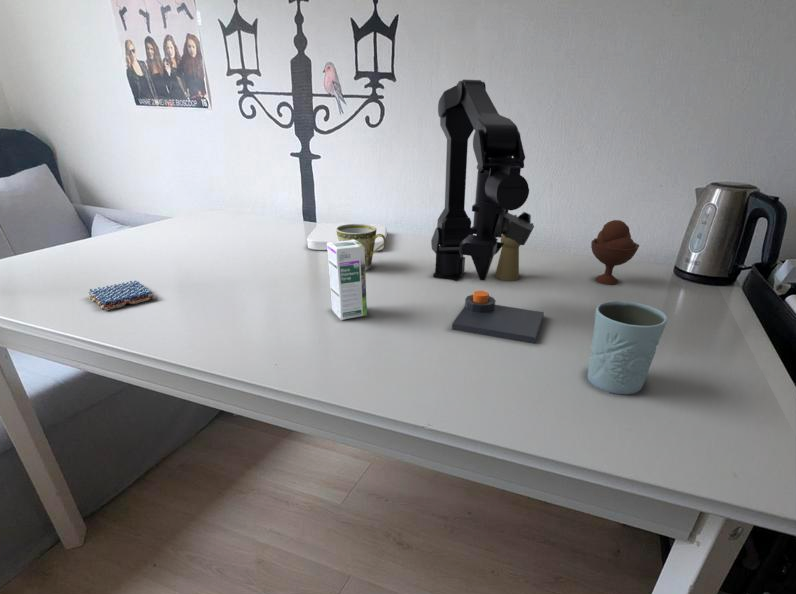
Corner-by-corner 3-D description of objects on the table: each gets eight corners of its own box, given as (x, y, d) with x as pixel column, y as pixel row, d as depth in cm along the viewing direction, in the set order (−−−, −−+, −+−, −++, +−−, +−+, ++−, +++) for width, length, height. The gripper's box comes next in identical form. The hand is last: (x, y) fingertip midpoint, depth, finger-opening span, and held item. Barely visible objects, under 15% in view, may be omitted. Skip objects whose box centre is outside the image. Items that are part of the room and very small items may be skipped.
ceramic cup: (331, 270, 124) (328, 230, 119) (350, 259, 132) (348, 222, 127) (377, 277, 120) (376, 236, 115) (393, 266, 128) (393, 227, 123)
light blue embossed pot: (639, 404, 74) (661, 332, 67) (573, 384, 78) (588, 315, 72) (650, 376, 81) (672, 309, 75) (589, 359, 85) (605, 295, 79)
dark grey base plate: (451, 329, 95) (452, 315, 93) (468, 305, 106) (469, 292, 104) (534, 344, 90) (536, 329, 89) (543, 317, 101) (545, 303, 100)
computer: (382, 252, 138) (382, 242, 137) (305, 250, 138) (304, 240, 137) (387, 233, 157) (387, 224, 156) (319, 231, 157) (319, 222, 156)
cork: (520, 274, 125) (526, 231, 119) (516, 281, 120) (523, 236, 114) (497, 271, 126) (502, 228, 121) (492, 278, 121) (497, 234, 116)
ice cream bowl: (633, 290, 117) (650, 226, 109) (585, 285, 118) (598, 223, 111) (626, 276, 126) (641, 216, 118) (581, 272, 127) (593, 213, 120)
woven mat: (139, 286, 110) (137, 278, 109) (157, 300, 104) (154, 291, 103) (88, 297, 104) (85, 288, 103) (103, 312, 98) (100, 303, 97)
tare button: (471, 302, 100) (471, 294, 99) (474, 297, 103) (475, 289, 102) (486, 305, 99) (487, 296, 98) (489, 299, 102) (490, 291, 101)
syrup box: (341, 321, 97) (336, 248, 89) (331, 310, 101) (326, 240, 94) (367, 316, 99) (365, 245, 92) (356, 306, 104) (354, 237, 96)
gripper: (526, 213, 81) (514, 301, 89) (540, 194, 96) (529, 271, 104) (461, 206, 84) (455, 292, 92) (485, 190, 99) (478, 265, 107)
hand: (482, 279), depth 98 cm, fingers closed
